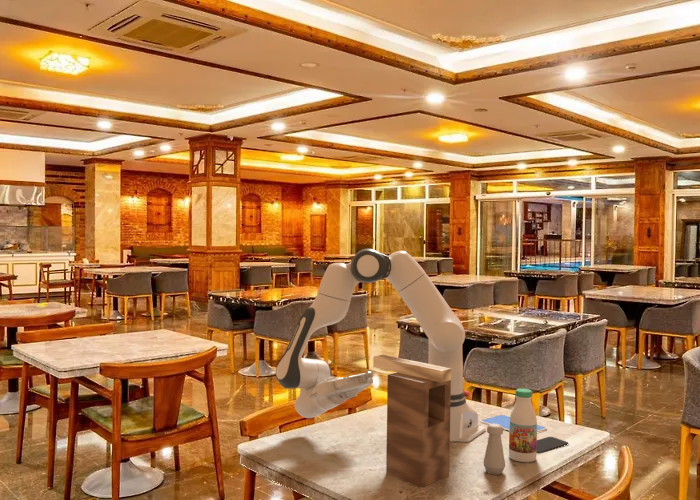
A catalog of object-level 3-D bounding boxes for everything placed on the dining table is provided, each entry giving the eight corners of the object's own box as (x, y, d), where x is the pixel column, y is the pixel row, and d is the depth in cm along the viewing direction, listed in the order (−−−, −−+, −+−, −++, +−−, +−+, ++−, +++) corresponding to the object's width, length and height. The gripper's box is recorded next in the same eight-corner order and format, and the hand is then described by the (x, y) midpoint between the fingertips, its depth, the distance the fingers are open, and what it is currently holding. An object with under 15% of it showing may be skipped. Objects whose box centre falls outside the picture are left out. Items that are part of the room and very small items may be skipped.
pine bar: (383, 364, 178) (383, 354, 177) (451, 380, 160) (451, 368, 160) (373, 366, 175) (373, 356, 175) (441, 382, 158) (442, 370, 158)
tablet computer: (478, 423, 214) (478, 419, 214) (501, 417, 221) (501, 413, 221) (525, 438, 198) (525, 434, 198) (548, 431, 206) (548, 427, 206)
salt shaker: (505, 477, 165) (506, 429, 165) (483, 475, 167) (484, 427, 166) (504, 468, 171) (505, 422, 171) (483, 467, 172) (484, 420, 172)
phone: (518, 445, 189) (550, 436, 198) (518, 447, 189) (550, 438, 198) (538, 452, 183) (570, 442, 192) (538, 455, 183) (570, 445, 192)
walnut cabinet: (414, 462, 175) (416, 368, 174) (449, 475, 166) (450, 375, 165) (386, 474, 166) (387, 374, 165) (421, 487, 158) (422, 382, 157)
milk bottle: (505, 453, 183) (506, 386, 182) (530, 453, 184) (531, 386, 183) (514, 463, 175) (515, 393, 175) (540, 463, 176) (542, 393, 175)
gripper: (302, 388, 184) (330, 371, 175) (351, 377, 198) (379, 361, 190) (309, 408, 182) (337, 393, 173) (358, 395, 196) (386, 381, 188)
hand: (359, 376), depth 182 cm, fingers open, 8 cm apart
